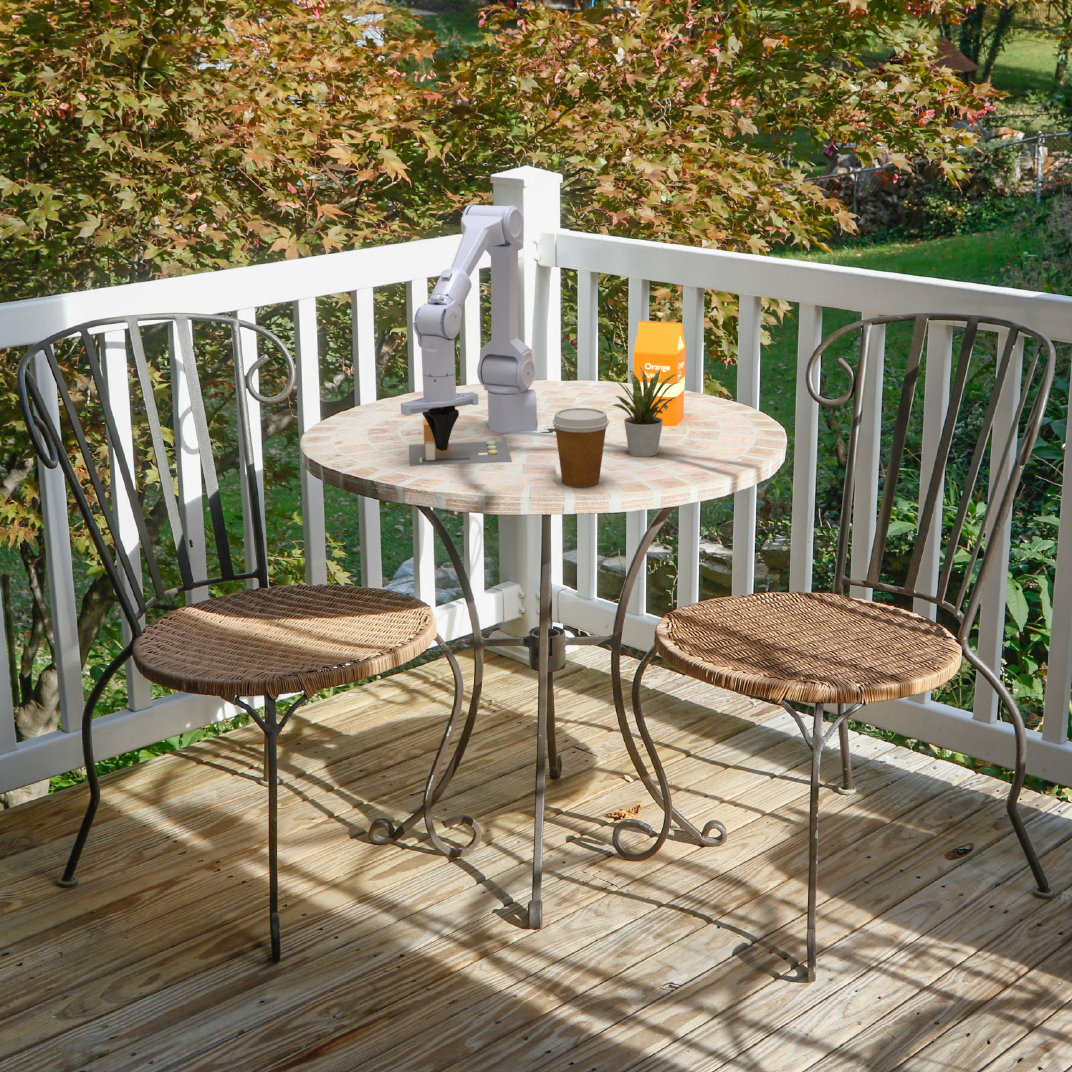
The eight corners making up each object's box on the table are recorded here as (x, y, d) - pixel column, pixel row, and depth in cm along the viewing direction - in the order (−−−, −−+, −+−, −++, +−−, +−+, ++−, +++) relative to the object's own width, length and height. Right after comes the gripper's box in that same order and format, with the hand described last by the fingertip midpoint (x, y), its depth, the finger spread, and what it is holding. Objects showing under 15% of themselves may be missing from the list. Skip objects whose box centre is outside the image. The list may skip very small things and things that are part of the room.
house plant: (704, 453, 240) (707, 365, 234) (656, 469, 230) (657, 377, 225) (644, 439, 249) (646, 354, 244) (596, 454, 240) (596, 366, 235)
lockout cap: (448, 445, 241) (447, 418, 239) (449, 452, 237) (448, 424, 235) (424, 446, 240) (423, 419, 239) (424, 453, 236) (423, 425, 235)
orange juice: (675, 427, 258) (678, 326, 251) (632, 424, 261) (633, 324, 254) (683, 417, 265) (686, 319, 258) (641, 414, 268) (643, 317, 261)
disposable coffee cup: (612, 489, 219) (612, 419, 215) (555, 491, 219) (555, 421, 215) (604, 473, 228) (605, 406, 224) (550, 475, 228) (549, 407, 224)
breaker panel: (506, 448, 244) (505, 438, 243) (512, 469, 231) (511, 458, 230) (409, 452, 242) (408, 441, 242) (409, 473, 229) (409, 462, 229)
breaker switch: (434, 457, 233) (434, 441, 232) (435, 460, 231) (434, 443, 230) (425, 457, 233) (425, 441, 232) (426, 460, 231) (425, 443, 230)
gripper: (463, 364, 234) (465, 438, 238) (391, 374, 226) (394, 450, 231) (483, 371, 228) (485, 446, 233) (410, 382, 221) (413, 459, 225)
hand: (441, 449), depth 231 cm, fingers closed
